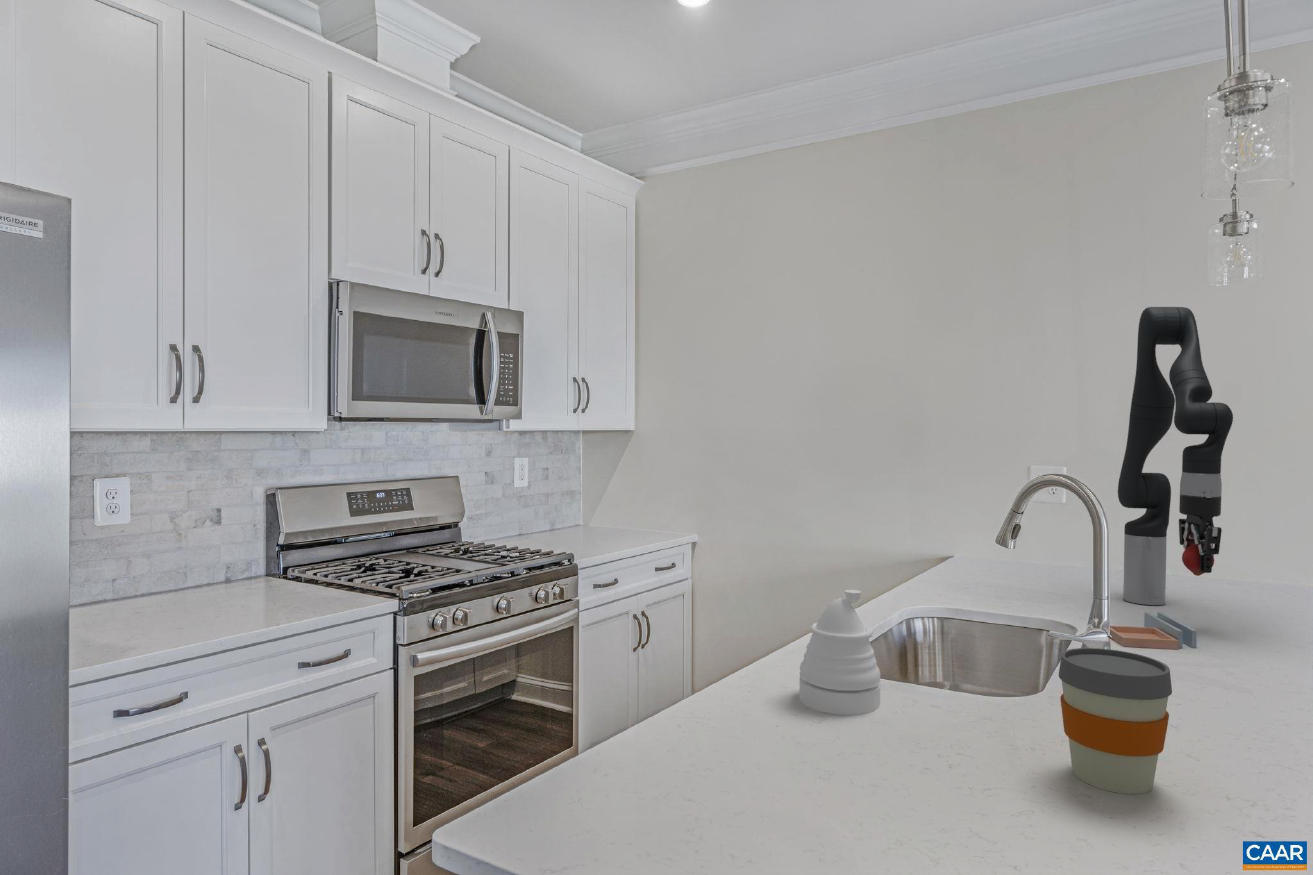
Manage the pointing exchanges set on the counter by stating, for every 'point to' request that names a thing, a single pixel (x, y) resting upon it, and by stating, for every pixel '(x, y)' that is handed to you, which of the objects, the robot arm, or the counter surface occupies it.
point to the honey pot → (840, 662)
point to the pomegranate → (1193, 559)
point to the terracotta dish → (1142, 637)
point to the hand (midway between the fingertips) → (1197, 569)
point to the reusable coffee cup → (1114, 716)
